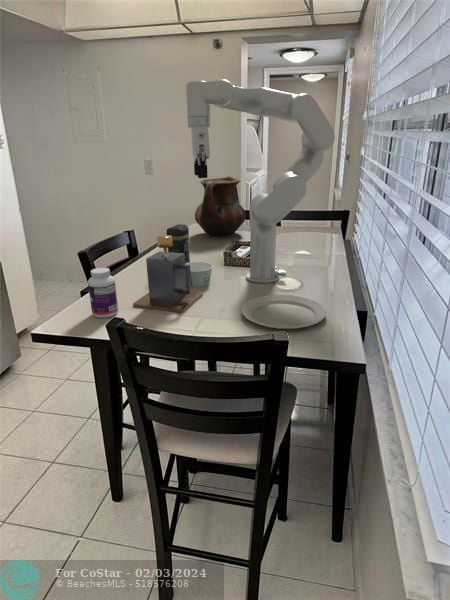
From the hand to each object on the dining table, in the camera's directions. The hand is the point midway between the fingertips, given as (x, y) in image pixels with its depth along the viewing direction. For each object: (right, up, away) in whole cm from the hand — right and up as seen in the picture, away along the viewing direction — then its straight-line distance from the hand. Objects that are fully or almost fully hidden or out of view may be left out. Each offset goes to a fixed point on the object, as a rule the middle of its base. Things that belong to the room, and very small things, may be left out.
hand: (200, 176), depth 146 cm
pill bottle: (-29, -47, -13) cm, 57 cm away
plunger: (-11, -41, -4) cm, 43 cm away
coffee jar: (-10, -31, +28) cm, 43 cm away
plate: (+26, -48, -16) cm, 57 cm away
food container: (-2, -36, +13) cm, 39 cm away
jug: (+6, -7, +86) cm, 87 cm away
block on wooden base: (-11, -43, -4) cm, 44 cm away
